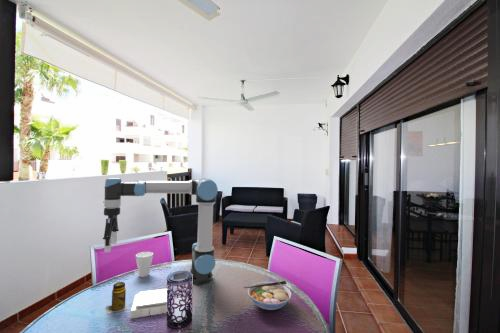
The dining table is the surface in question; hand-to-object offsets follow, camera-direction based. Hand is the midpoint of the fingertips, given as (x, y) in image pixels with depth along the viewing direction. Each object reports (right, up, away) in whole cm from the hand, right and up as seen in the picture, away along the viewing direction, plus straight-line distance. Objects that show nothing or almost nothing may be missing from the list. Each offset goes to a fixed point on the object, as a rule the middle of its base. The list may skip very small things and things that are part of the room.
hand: (110, 247), depth 128 cm
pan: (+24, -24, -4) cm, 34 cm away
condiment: (+7, -28, -7) cm, 30 cm away
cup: (+4, -29, +31) cm, 42 cm away
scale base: (+24, -28, -4) cm, 37 cm away
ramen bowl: (+84, -30, -1) cm, 89 cm away
